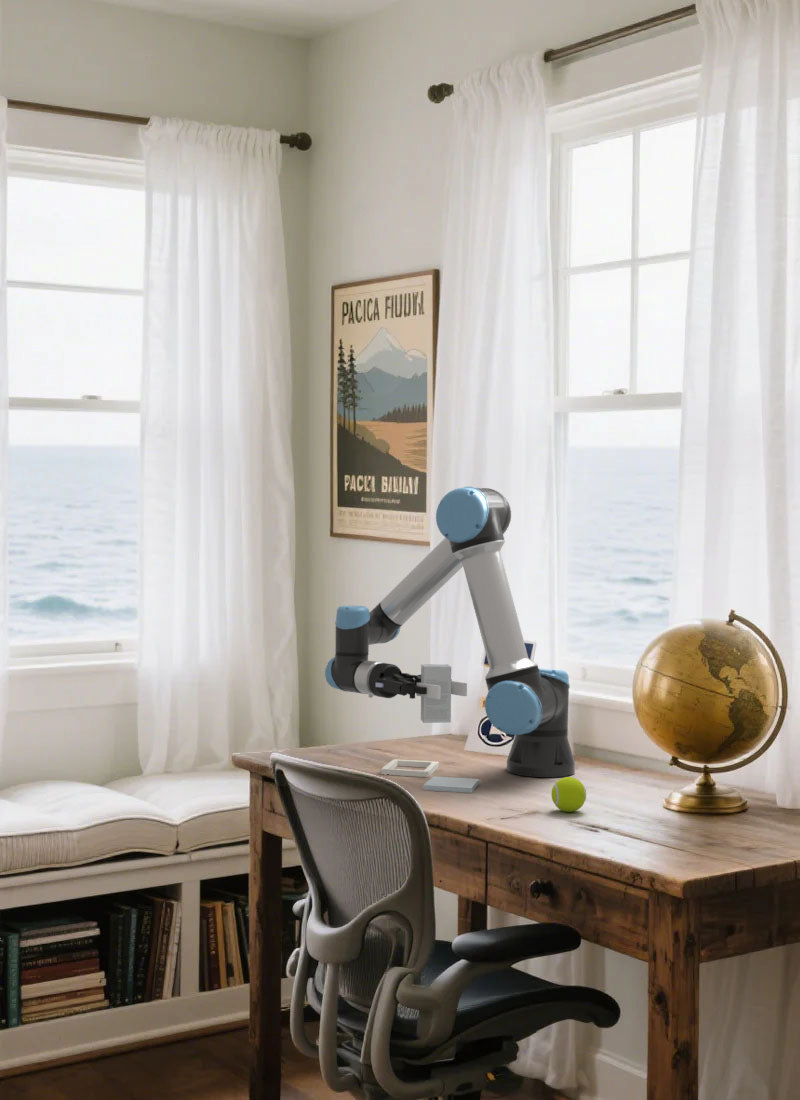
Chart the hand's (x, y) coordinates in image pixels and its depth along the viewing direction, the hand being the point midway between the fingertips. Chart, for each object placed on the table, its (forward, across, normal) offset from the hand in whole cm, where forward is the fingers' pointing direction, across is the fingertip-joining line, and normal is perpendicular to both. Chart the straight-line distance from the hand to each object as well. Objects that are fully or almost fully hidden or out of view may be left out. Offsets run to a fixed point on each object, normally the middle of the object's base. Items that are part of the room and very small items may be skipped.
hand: (452, 691), depth 293 cm
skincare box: (-5, 0, -7) cm, 9 cm away
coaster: (+1, 0, -20) cm, 20 cm away
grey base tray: (-18, -5, -20) cm, 27 cm away
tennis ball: (+32, -1, -20) cm, 38 cm away
